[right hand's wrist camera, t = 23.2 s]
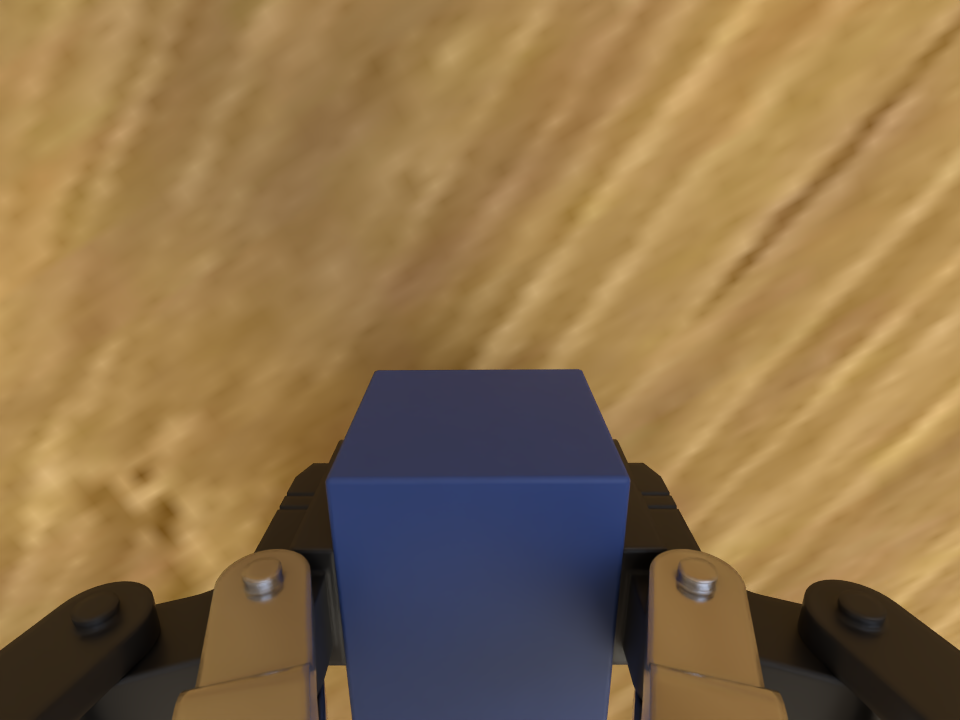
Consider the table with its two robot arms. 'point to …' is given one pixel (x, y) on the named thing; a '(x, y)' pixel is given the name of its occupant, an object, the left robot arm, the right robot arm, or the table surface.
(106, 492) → the table surface
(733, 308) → the table surface
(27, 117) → the table surface
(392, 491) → the brick
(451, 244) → the table surface
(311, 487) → the right robot arm
